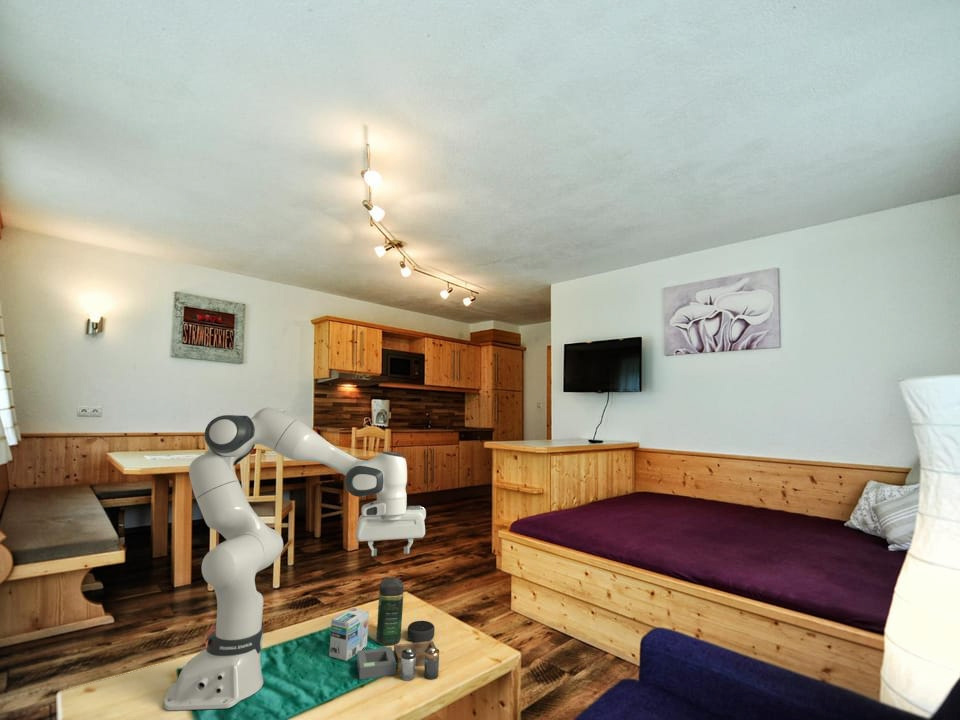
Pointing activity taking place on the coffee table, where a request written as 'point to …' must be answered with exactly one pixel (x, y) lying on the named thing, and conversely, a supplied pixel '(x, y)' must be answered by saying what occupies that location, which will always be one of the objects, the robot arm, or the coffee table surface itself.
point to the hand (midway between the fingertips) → (390, 554)
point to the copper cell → (431, 663)
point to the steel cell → (408, 664)
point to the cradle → (376, 663)
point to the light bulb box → (349, 633)
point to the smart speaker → (420, 631)
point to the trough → (419, 649)
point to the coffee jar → (390, 611)
